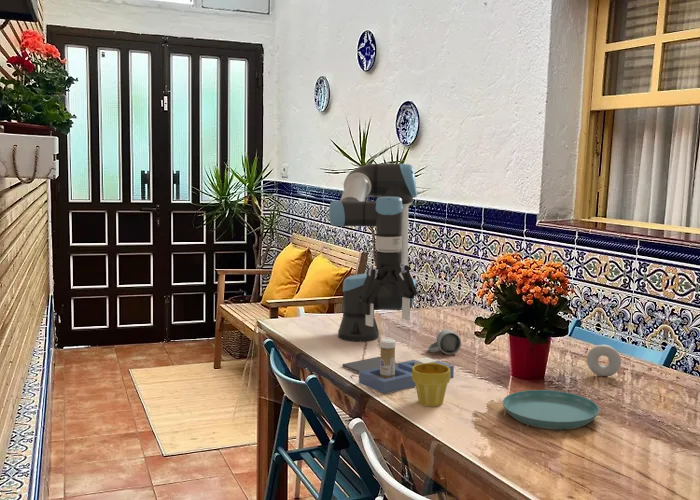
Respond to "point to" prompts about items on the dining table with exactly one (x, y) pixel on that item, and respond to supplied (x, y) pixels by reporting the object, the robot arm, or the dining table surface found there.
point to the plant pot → (431, 382)
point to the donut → (603, 351)
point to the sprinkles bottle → (387, 358)
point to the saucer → (550, 409)
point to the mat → (364, 364)
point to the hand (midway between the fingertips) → (388, 322)
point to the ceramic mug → (446, 343)
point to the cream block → (424, 360)
